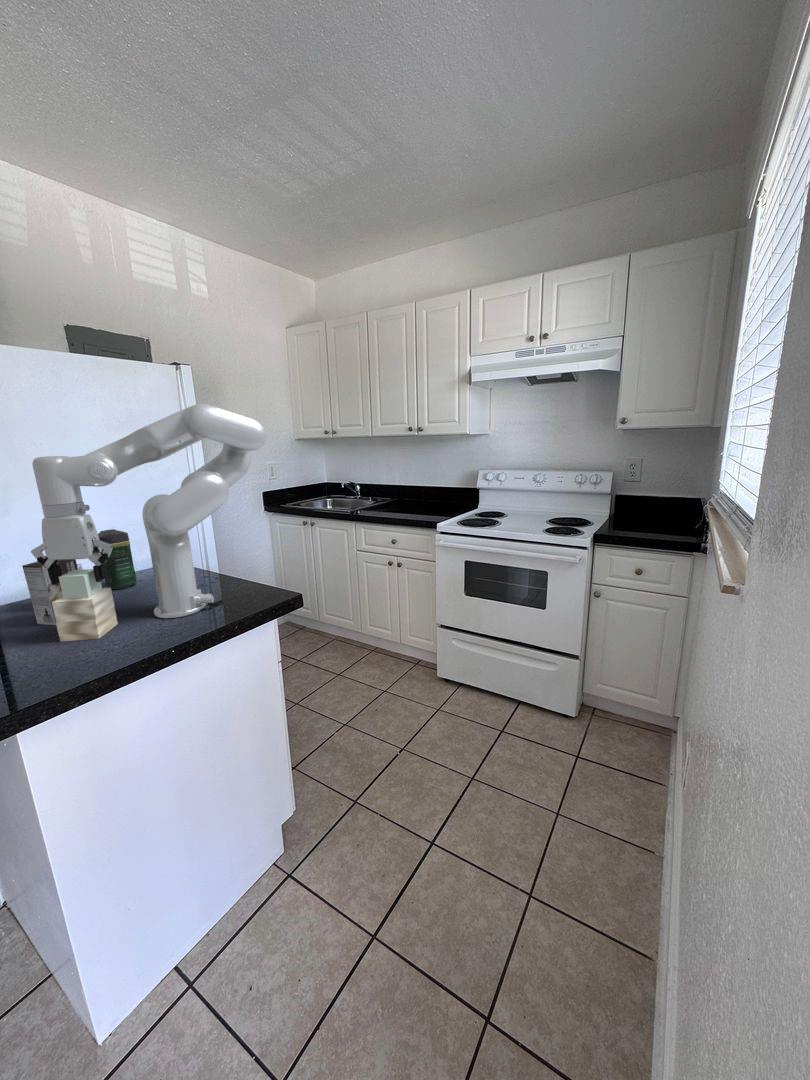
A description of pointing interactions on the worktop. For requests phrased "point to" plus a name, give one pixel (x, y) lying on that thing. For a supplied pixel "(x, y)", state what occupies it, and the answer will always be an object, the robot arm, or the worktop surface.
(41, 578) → the coffee box
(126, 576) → the coffee jar
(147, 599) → the worktop surface
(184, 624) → the worktop surface
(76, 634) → the birch base block
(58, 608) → the maple top block
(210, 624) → the worktop surface
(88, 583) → the sage block
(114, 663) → the worktop surface
